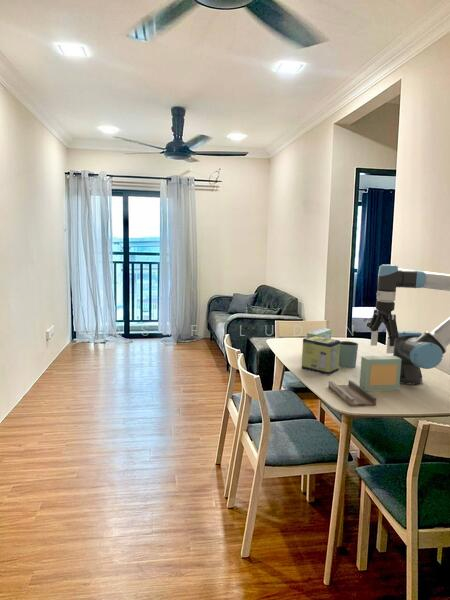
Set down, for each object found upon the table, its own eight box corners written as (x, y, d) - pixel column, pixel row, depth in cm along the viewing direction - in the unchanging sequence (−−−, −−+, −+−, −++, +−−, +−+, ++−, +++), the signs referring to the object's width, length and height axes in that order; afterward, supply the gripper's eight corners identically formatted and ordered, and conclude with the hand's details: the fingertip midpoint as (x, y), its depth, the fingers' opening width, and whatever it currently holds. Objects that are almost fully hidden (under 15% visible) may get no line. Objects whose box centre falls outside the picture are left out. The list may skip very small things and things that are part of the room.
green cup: (357, 369, 218) (359, 346, 217) (337, 367, 220) (338, 344, 219) (355, 363, 228) (357, 341, 227) (336, 362, 230) (337, 340, 228)
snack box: (314, 362, 229) (315, 334, 227) (304, 360, 233) (306, 332, 231) (330, 354, 246) (332, 328, 244) (321, 352, 249) (322, 327, 247)
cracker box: (392, 386, 194) (395, 355, 192) (399, 390, 188) (401, 359, 187) (359, 387, 191) (361, 356, 189) (364, 391, 186) (367, 359, 184)
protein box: (310, 364, 224) (312, 335, 222) (338, 370, 215) (340, 340, 213) (300, 368, 216) (302, 338, 214) (329, 375, 207) (331, 343, 205)
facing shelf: (350, 386, 191) (351, 380, 190) (375, 405, 169) (376, 398, 169) (327, 387, 189) (328, 380, 189) (350, 406, 168) (350, 399, 167)
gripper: (363, 296, 196) (360, 342, 199) (393, 305, 172) (388, 356, 175) (378, 297, 197) (375, 342, 200) (410, 305, 173) (405, 356, 176)
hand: (381, 349), depth 187 cm, fingers open, 13 cm apart
